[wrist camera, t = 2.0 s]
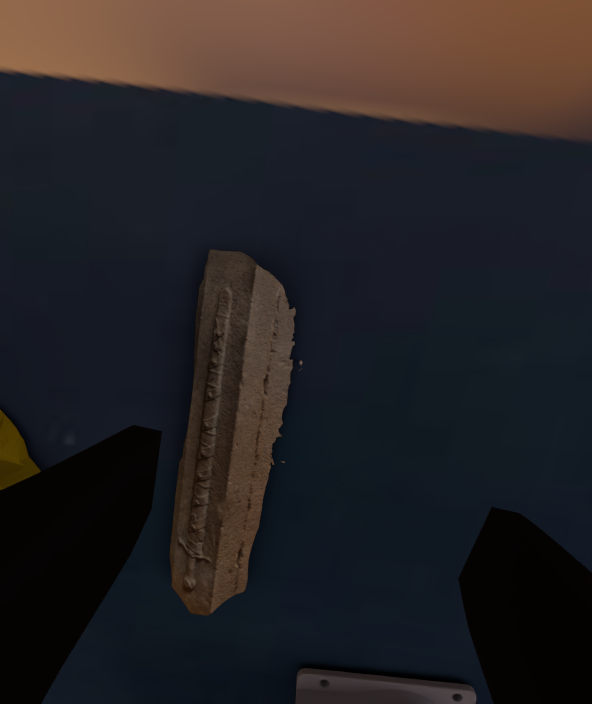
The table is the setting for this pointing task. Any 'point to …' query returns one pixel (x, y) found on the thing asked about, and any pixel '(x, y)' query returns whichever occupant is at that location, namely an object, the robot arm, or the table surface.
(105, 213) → the table surface
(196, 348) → the sword-carved stone slab
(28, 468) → the door knocker
